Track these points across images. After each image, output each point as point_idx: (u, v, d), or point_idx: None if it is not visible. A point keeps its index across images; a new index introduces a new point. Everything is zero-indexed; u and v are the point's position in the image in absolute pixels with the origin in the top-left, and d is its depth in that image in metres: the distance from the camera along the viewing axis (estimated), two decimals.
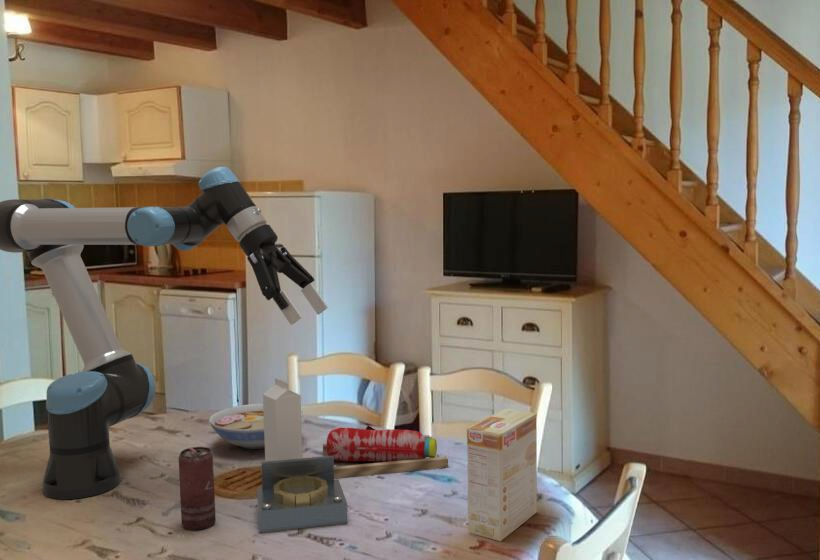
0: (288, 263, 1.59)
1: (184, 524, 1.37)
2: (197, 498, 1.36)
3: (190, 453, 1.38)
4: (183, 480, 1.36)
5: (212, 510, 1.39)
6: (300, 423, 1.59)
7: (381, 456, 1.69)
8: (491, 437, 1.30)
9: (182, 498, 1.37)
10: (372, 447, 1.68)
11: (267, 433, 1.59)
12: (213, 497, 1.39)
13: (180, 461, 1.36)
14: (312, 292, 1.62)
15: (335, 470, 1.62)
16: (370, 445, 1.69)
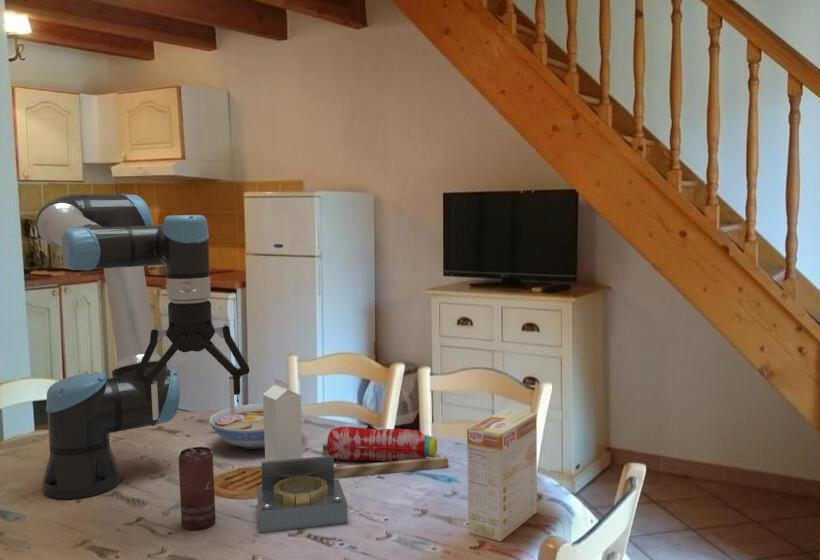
0: (207, 350, 1.36)
1: (184, 524, 1.37)
2: (197, 498, 1.36)
3: (190, 453, 1.38)
4: (183, 480, 1.36)
5: (212, 510, 1.39)
6: (300, 423, 1.59)
7: (381, 455, 1.69)
8: (491, 437, 1.29)
9: (182, 498, 1.37)
10: (372, 446, 1.69)
11: (267, 433, 1.59)
12: (213, 497, 1.39)
13: (180, 461, 1.36)
14: None
15: (335, 470, 1.62)
16: (371, 444, 1.69)
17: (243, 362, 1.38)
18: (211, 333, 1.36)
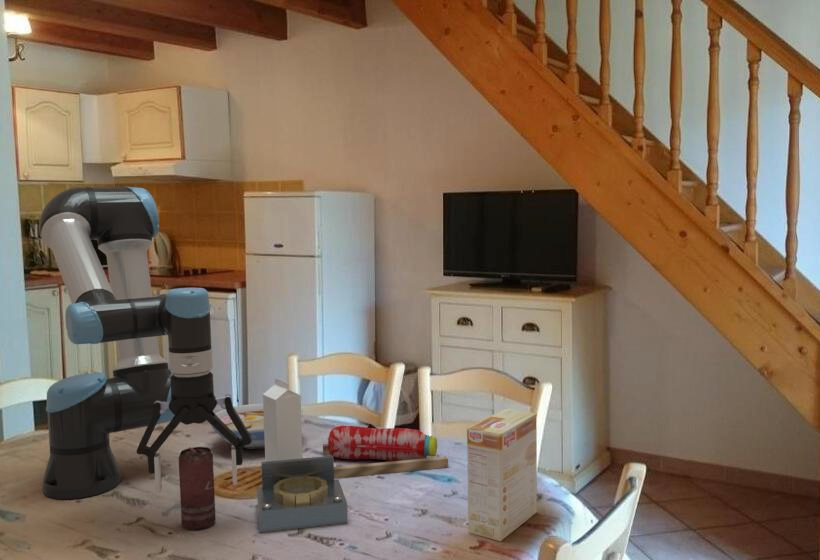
0: (209, 422, 1.37)
1: (184, 524, 1.37)
2: (197, 498, 1.36)
3: (190, 453, 1.38)
4: (183, 480, 1.36)
5: (212, 510, 1.39)
6: (300, 423, 1.59)
7: (381, 454, 1.70)
8: (491, 437, 1.30)
9: (182, 498, 1.37)
10: (373, 445, 1.70)
11: (267, 433, 1.59)
12: (213, 497, 1.39)
13: (180, 461, 1.36)
14: None
15: (335, 470, 1.62)
16: (371, 443, 1.70)
17: (245, 433, 1.39)
18: (213, 405, 1.37)
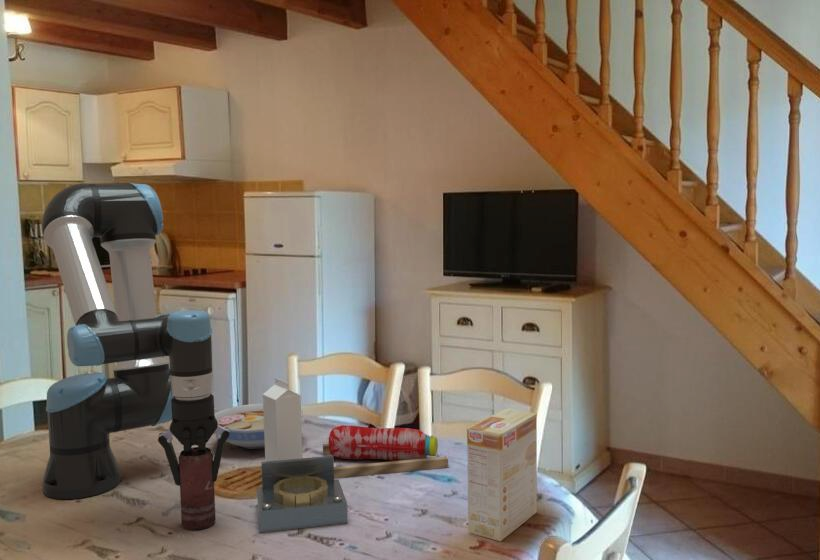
0: (198, 447, 1.37)
1: (184, 524, 1.37)
2: (197, 498, 1.36)
3: None
4: (183, 480, 1.36)
5: (212, 510, 1.39)
6: (300, 423, 1.59)
7: (382, 454, 1.70)
8: (491, 437, 1.29)
9: (182, 498, 1.37)
10: (373, 445, 1.70)
11: (267, 433, 1.59)
12: (213, 497, 1.39)
13: (180, 461, 1.36)
14: None
15: (335, 470, 1.62)
16: (372, 442, 1.70)
17: (217, 470, 1.38)
18: (212, 429, 1.38)
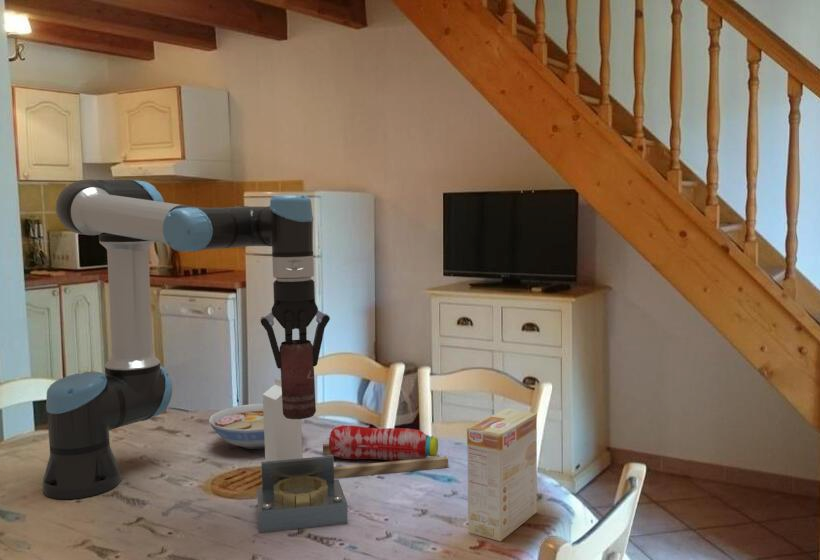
0: (299, 330, 1.38)
1: (286, 414, 1.38)
2: (300, 386, 1.37)
3: None
4: (285, 368, 1.37)
5: (313, 400, 1.39)
6: (300, 423, 1.59)
7: (382, 454, 1.70)
8: (491, 437, 1.29)
9: (284, 387, 1.38)
10: (373, 445, 1.70)
11: (267, 433, 1.59)
12: (314, 388, 1.40)
13: (282, 350, 1.37)
14: None
15: (335, 470, 1.62)
16: (372, 443, 1.70)
17: (317, 354, 1.39)
18: (313, 313, 1.39)
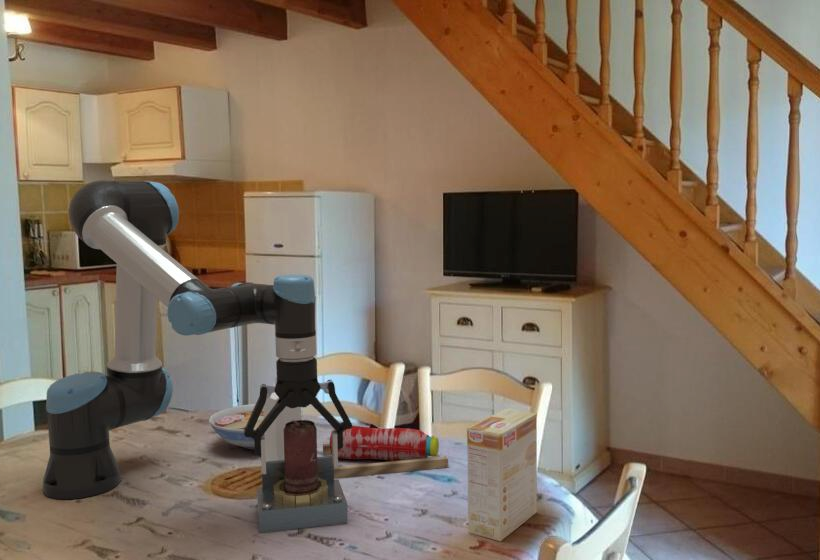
0: (313, 406, 1.40)
1: None
2: (302, 469, 1.39)
3: (294, 426, 1.41)
4: (289, 451, 1.39)
5: (315, 482, 1.41)
6: None
7: (383, 454, 1.70)
8: (491, 437, 1.29)
9: (287, 469, 1.39)
10: (374, 445, 1.70)
11: (267, 433, 1.59)
12: (316, 469, 1.41)
13: (286, 433, 1.39)
14: (332, 442, 1.43)
15: (335, 470, 1.62)
16: (372, 443, 1.70)
17: (346, 417, 1.42)
18: (317, 389, 1.40)
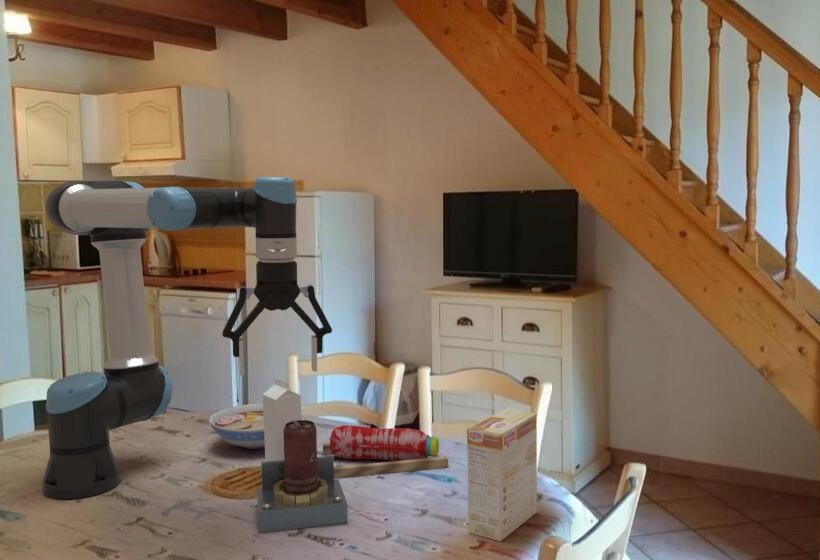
0: (293, 309, 1.40)
1: None
2: (302, 469, 1.39)
3: (294, 426, 1.41)
4: (289, 451, 1.39)
5: (315, 482, 1.41)
6: None
7: (383, 454, 1.70)
8: (491, 437, 1.29)
9: (287, 470, 1.39)
10: (374, 445, 1.70)
11: (267, 433, 1.59)
12: (316, 469, 1.41)
13: (286, 433, 1.39)
14: (312, 346, 1.43)
15: (335, 470, 1.62)
16: (373, 443, 1.70)
17: (326, 321, 1.42)
18: (297, 292, 1.40)
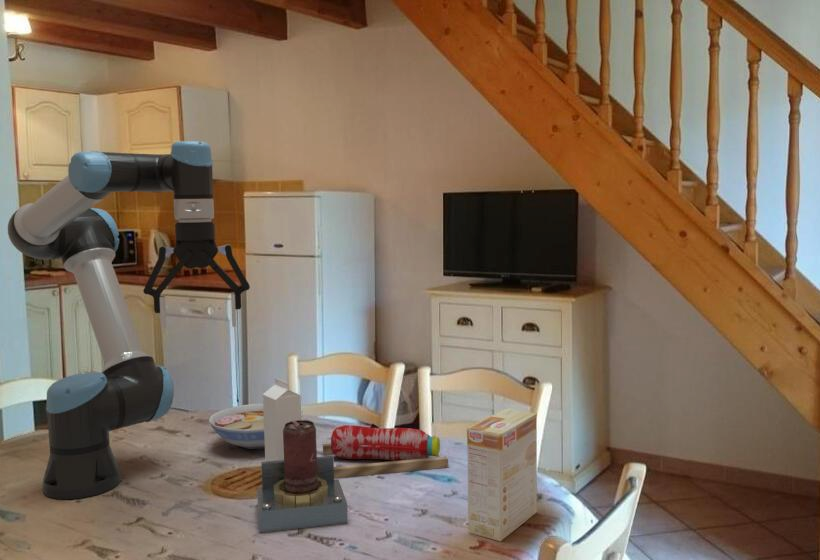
0: (211, 267, 1.48)
1: None
2: (302, 470, 1.39)
3: (294, 426, 1.41)
4: (289, 451, 1.39)
5: (315, 482, 1.41)
6: None
7: (384, 454, 1.70)
8: (491, 437, 1.29)
9: (287, 470, 1.39)
10: (375, 445, 1.70)
11: (267, 433, 1.59)
12: (316, 469, 1.41)
13: (285, 433, 1.39)
14: (231, 303, 1.50)
15: (335, 470, 1.62)
16: (374, 442, 1.70)
17: (244, 279, 1.50)
18: (214, 251, 1.48)
